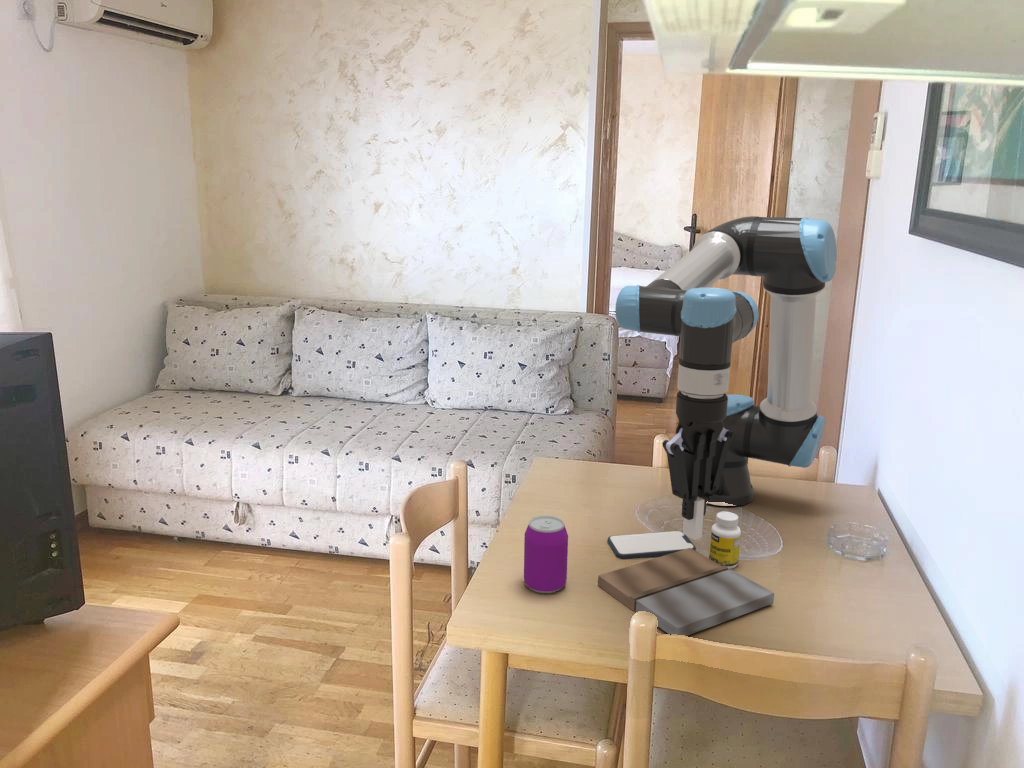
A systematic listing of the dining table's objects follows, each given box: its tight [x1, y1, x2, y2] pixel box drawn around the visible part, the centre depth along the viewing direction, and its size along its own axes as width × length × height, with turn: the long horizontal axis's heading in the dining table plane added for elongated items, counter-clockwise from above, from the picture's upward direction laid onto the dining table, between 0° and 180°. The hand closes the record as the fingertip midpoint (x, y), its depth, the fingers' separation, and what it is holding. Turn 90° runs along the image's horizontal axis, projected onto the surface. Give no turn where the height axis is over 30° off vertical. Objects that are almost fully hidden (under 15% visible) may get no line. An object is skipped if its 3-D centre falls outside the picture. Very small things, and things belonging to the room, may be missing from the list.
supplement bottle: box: [708, 511, 742, 570], centre depth 151 cm, size 5×5×10 cm
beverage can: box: [523, 515, 569, 594], centre depth 142 cm, size 8×8×12 cm
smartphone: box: [607, 530, 697, 560], centre depth 158 cm, size 9×2×16 cm
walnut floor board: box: [597, 548, 729, 612], centre depth 144 cm, size 22×10×2 cm, turn 121°
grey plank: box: [635, 569, 775, 637], centre depth 135 cm, size 22×10×2 cm, turn 121°
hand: (692, 535), depth 126 cm, fingers closed
